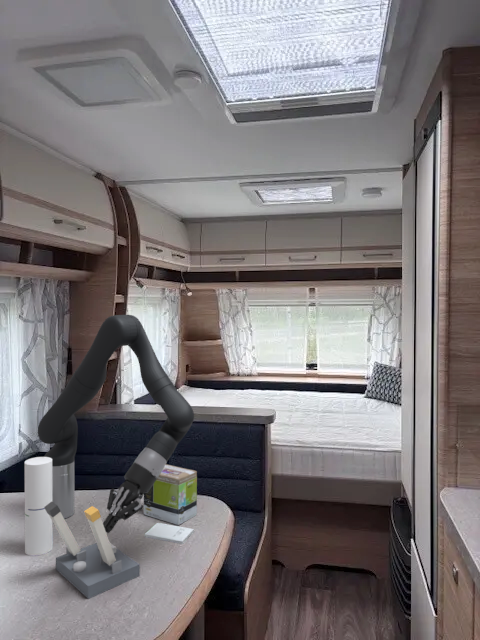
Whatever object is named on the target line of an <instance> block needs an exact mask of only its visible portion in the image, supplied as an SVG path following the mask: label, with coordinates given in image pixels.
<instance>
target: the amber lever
mask: <svg viewBox="0 0 480 640" xmlns="http://www.w3.org/2000/svg"><path fill="white" fill-rule="evenodd" d="M83 512H84V515H85V517H86V520H87V521H88V524H89V527H90V529H91V532H92V534H93V537H94V540H95V543H97V546H98V548H99V551H100V554H101V556H102V559H103V561H104V562H105V563H107V564H108V565H109V566H111V567H112V563H114V562H115V561H116V558H115V556H114V553H113V550H112V547H111V545H110V543H111V542H110V540H109V536H108V535H107V534H108V533H107V532H106V531H105V528H104V525H103V520H102V518H101V517H102V516H101V513H100V511H99V509H98V508H96V507H95V506H90V507H88V508H87V509H85V510H84V511H83Z"/></svg>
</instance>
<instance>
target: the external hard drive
mask: <svg viewBox="0 0 480 640" xmlns="http://www.w3.org/2000/svg"><path fill="white" fill-rule="evenodd" d="M194 533H195V529H194V528H190V527H185V526H179V525H175V524H168V523H167V524H166V523H164V522H163V523H162V522H157V523H155V524H154V525H153V526H152V527H150V529H148V531H146V532H145V533H144V538H147V539H152V540H159V541H163V542H164V541H165V542H171V543H175V544H181V545H183V544H185V542H186V541H187V540H188V539H189V537H191V536H192V535H193V534H194Z"/></svg>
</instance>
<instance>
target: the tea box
mask: <svg viewBox="0 0 480 640" xmlns="http://www.w3.org/2000/svg"><path fill="white" fill-rule="evenodd" d="M197 473H198V471H197V470H194V469H189V468H185V467H184V468H183V467H180V466H175V465H171V464H167V463H166V464H165V466H164V468H163V470H162V472H161V473H160V475H159V477H158V478H157V480H156V481H155V483H154V484H153V486H152V487H151V489H150V490H149V492H148V493H145V492H144V494H143V515H145V516H149V517H150V518H154V519H156V520H160V521H163V522H167V523H170V524H172V525H175V526H179V525H182V524H184V523H185V522H187V521H189V520H190V519H192V518H194V517H195V516H196V515H197V513H198V512H197V511H198V510H197V508H198V507H197V506H198V500H197V499H198V497H197V496H198V491H197V490H198V488H197V487H198V474H197Z"/></svg>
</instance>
